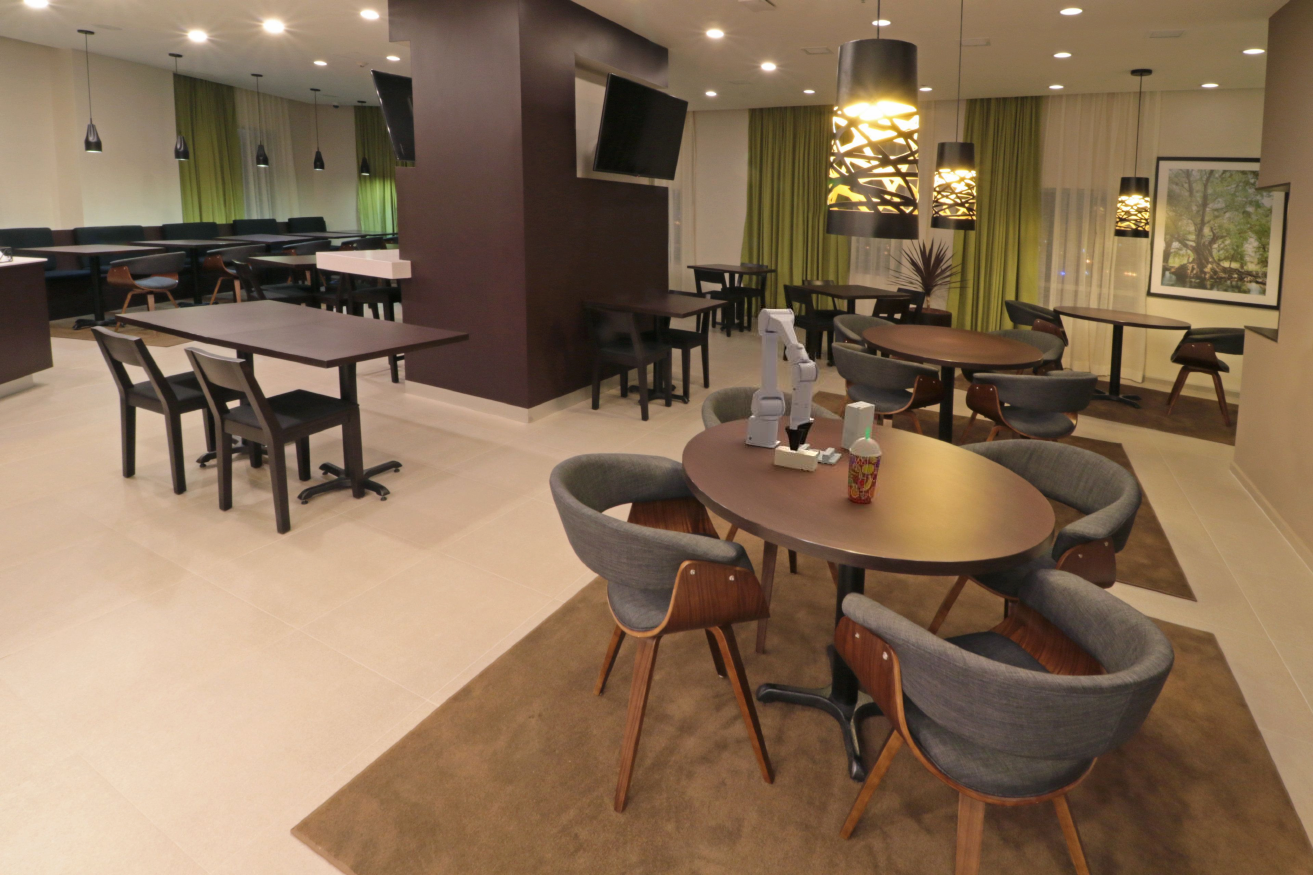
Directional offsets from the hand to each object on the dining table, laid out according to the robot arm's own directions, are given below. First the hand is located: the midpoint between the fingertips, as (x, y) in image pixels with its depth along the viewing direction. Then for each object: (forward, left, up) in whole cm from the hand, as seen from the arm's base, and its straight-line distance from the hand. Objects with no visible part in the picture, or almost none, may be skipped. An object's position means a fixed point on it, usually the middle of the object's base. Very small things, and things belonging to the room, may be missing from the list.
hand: (797, 447), depth 236 cm
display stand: (+3, +12, -6) cm, 14 cm away
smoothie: (+23, -19, -6) cm, 30 cm away
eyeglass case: (0, 0, -6) cm, 6 cm away
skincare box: (+12, +29, -6) cm, 32 cm away
